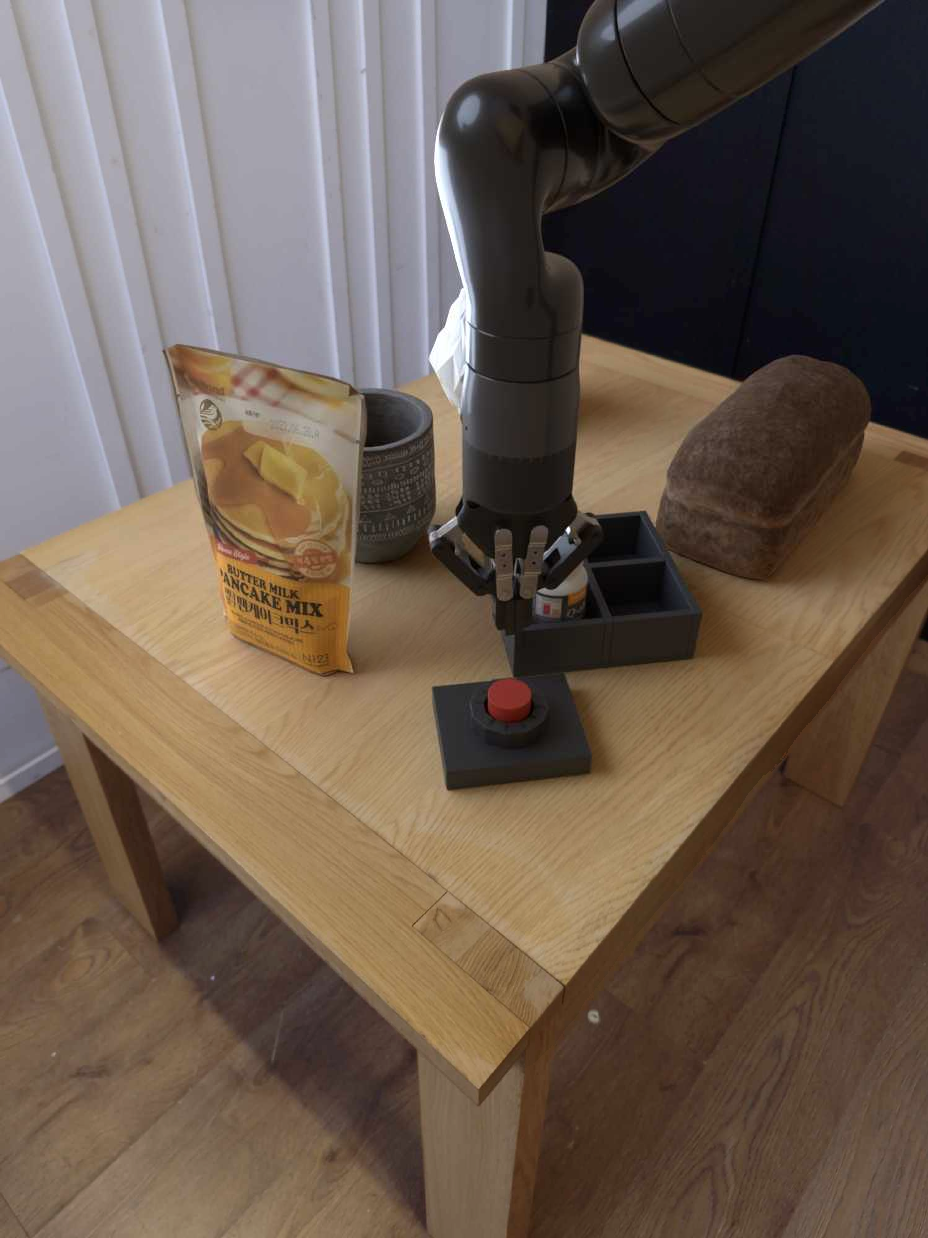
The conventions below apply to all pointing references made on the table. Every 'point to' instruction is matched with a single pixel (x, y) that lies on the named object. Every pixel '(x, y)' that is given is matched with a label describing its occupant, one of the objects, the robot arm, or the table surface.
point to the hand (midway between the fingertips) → (511, 628)
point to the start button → (509, 701)
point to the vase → (452, 352)
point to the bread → (764, 466)
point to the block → (509, 735)
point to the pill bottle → (562, 599)
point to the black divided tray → (616, 608)
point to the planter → (395, 475)
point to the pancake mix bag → (276, 497)
